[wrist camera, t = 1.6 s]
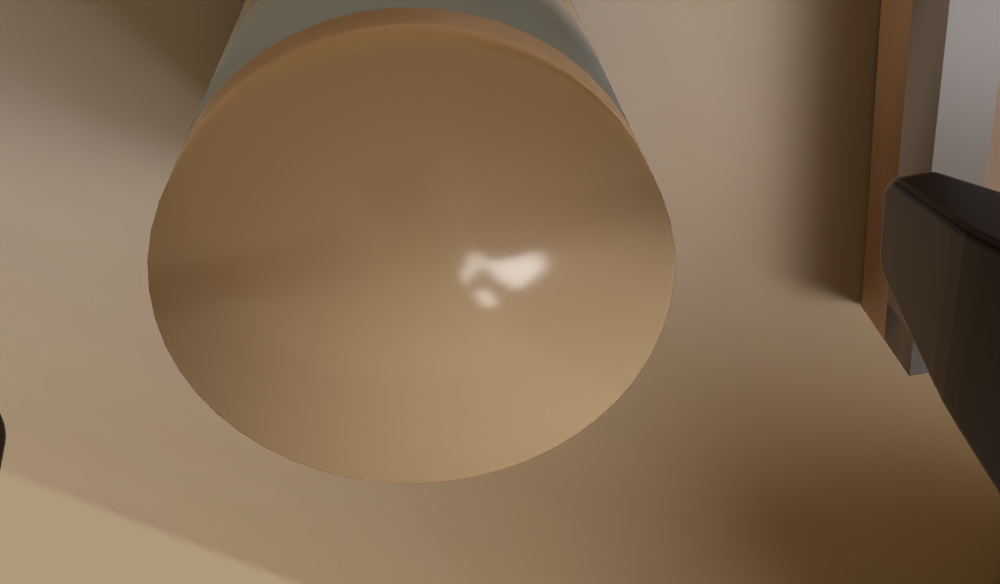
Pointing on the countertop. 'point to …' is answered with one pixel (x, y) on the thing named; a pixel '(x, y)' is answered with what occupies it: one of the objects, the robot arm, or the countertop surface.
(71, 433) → the countertop surface
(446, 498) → the countertop surface
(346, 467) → the slate jar
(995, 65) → the lane
